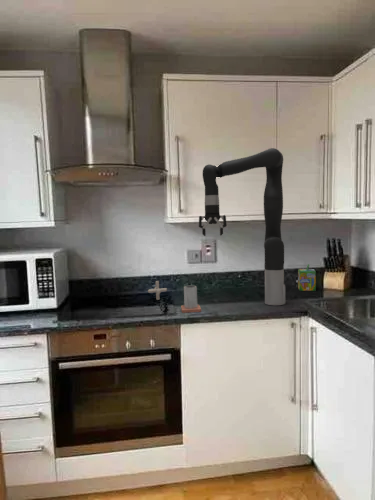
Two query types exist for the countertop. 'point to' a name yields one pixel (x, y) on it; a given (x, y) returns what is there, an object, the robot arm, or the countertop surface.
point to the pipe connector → (157, 290)
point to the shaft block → (190, 309)
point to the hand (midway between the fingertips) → (212, 235)
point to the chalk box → (307, 279)
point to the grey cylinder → (190, 297)
